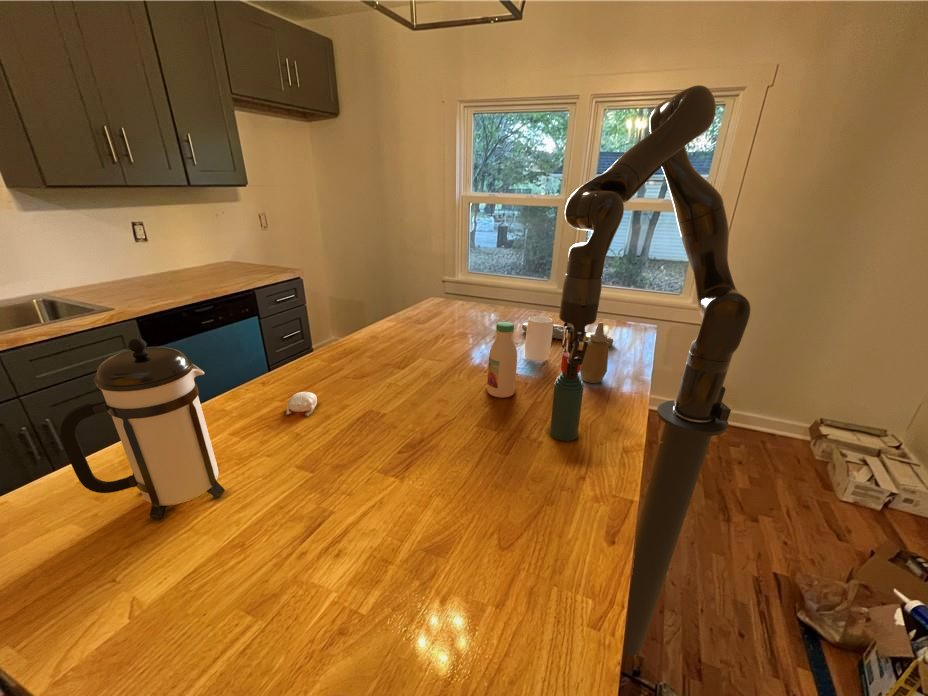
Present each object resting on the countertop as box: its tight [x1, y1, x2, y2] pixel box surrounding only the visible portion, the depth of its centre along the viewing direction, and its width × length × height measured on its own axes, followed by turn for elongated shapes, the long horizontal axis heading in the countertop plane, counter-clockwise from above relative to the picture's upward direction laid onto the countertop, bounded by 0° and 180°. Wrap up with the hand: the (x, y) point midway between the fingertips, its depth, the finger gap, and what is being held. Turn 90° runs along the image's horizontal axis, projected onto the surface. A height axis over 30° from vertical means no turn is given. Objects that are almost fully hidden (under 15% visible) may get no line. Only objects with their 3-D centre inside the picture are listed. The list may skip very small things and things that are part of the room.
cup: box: [524, 315, 554, 362], centre depth 138 cm, size 8×8×14 cm
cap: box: [560, 351, 581, 374], centre depth 92 cm, size 4×4×4 cm
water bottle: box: [549, 371, 585, 442], centre depth 96 cm, size 6×6×20 cm
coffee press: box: [59, 337, 226, 520], centre depth 71 cm, size 17×16×30 cm
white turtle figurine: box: [285, 391, 318, 416], centre depth 107 cm, size 8×7×4 cm
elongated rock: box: [521, 322, 614, 347], centre depth 162 cm, size 35×5×10 cm
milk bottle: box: [486, 321, 518, 399], centre depth 115 cm, size 8×8×20 cm
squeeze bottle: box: [579, 321, 610, 384], centre depth 125 cm, size 8×8×18 cm
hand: (568, 374), depth 93 cm, fingers closed on cap, 3 cm apart
